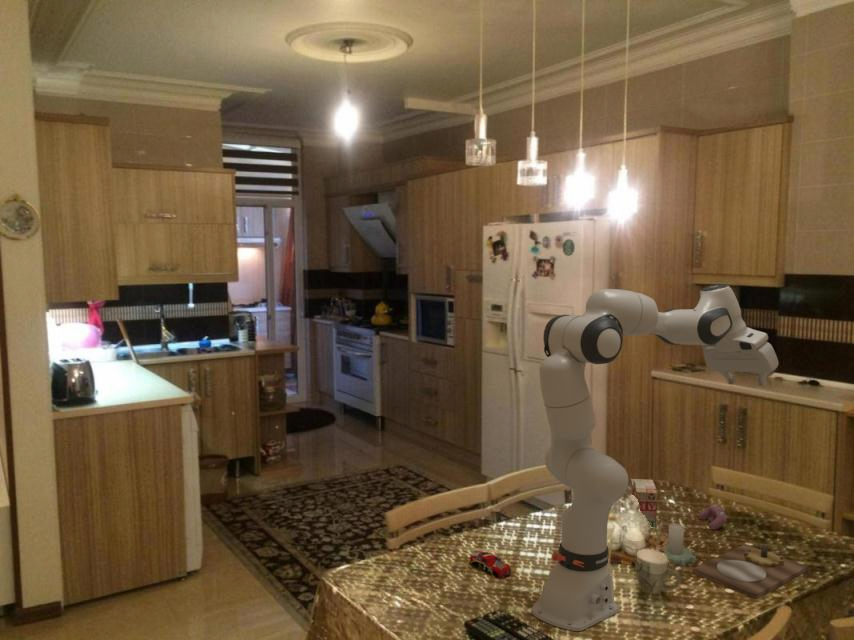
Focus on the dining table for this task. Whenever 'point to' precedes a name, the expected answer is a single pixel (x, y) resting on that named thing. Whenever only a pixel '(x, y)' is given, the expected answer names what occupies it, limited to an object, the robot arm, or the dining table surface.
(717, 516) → the purple curved piece
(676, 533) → the loose gear
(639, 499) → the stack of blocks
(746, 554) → the gear board
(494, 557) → the race car
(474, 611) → the dining table surface
